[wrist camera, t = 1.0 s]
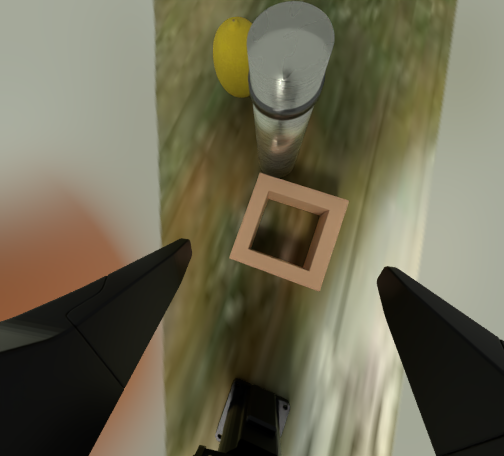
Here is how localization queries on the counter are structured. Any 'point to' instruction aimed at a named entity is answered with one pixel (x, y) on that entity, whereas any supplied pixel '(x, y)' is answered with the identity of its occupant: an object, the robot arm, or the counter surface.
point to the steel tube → (286, 78)
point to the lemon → (232, 56)
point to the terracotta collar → (322, 240)
